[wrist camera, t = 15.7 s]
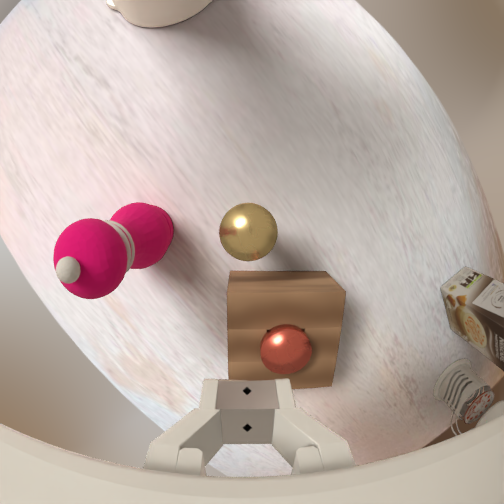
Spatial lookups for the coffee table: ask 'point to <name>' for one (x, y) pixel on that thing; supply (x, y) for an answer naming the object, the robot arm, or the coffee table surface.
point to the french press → (466, 394)
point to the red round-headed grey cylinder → (285, 349)
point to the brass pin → (248, 232)
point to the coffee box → (477, 311)
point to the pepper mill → (111, 248)
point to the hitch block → (284, 322)
